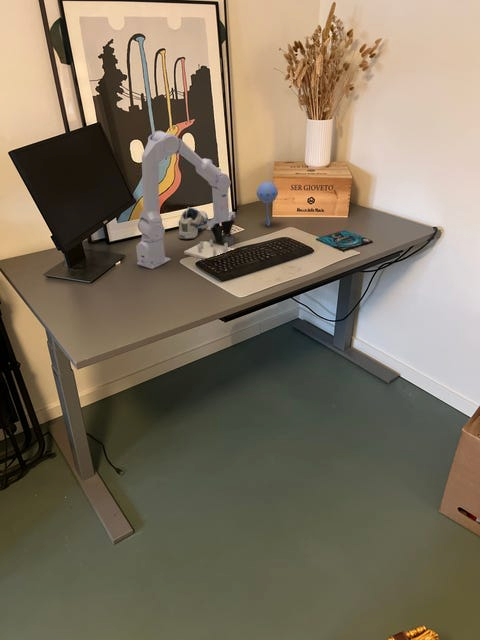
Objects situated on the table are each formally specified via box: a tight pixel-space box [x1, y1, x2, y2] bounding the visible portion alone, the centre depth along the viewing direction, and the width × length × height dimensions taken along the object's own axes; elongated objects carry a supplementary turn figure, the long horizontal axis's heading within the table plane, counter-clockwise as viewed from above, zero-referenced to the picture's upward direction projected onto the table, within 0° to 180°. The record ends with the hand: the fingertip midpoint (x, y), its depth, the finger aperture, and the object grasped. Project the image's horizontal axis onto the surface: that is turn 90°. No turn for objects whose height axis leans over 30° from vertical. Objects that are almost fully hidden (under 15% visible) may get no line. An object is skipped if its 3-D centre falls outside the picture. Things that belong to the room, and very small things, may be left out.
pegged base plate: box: [183, 238, 235, 259], centre depth 178 cm, size 12×16×4 cm
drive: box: [210, 231, 235, 248], centre depth 185 cm, size 8×4×4 cm, turn 58°
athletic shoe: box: [178, 206, 210, 240], centre depth 198 cm, size 10×23×12 cm, turn 173°
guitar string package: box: [315, 229, 374, 253], centre depth 184 cm, size 15×1×15 cm
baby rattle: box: [256, 181, 279, 227], centre depth 198 cm, size 9×9×18 cm
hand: (222, 240), depth 185 cm, fingers closed on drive, 4 cm apart
